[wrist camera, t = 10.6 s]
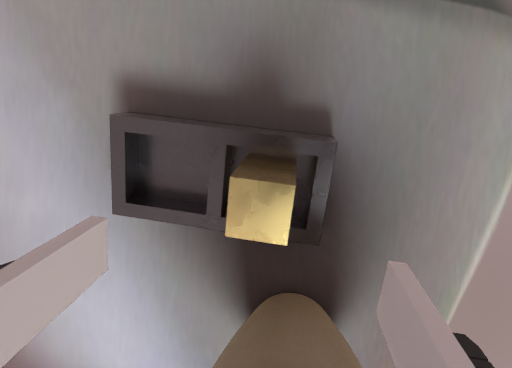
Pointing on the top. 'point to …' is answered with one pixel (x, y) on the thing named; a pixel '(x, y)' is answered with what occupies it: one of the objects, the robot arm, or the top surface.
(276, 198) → the brass block
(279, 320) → the plant pot
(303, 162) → the divided tray
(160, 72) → the top surface
